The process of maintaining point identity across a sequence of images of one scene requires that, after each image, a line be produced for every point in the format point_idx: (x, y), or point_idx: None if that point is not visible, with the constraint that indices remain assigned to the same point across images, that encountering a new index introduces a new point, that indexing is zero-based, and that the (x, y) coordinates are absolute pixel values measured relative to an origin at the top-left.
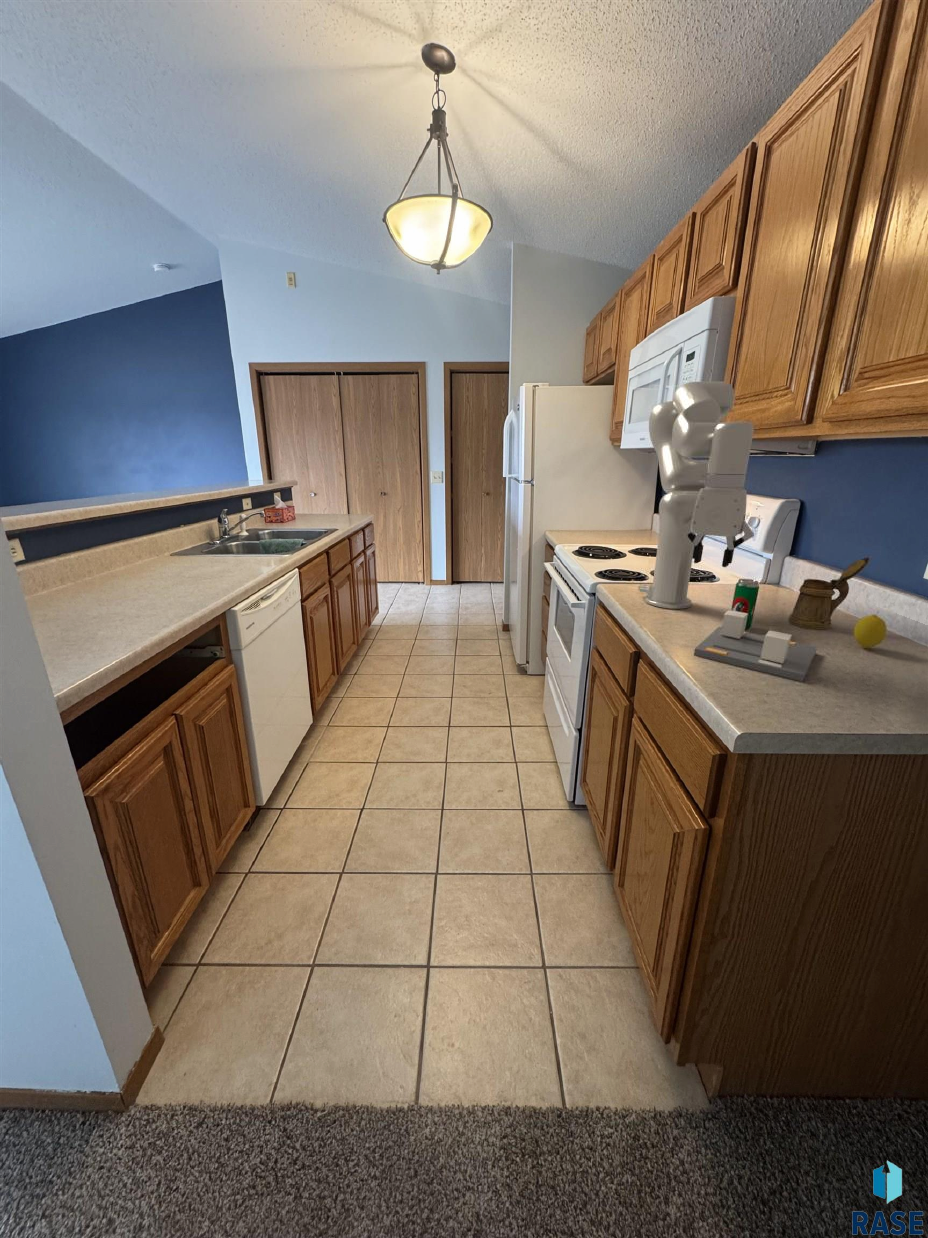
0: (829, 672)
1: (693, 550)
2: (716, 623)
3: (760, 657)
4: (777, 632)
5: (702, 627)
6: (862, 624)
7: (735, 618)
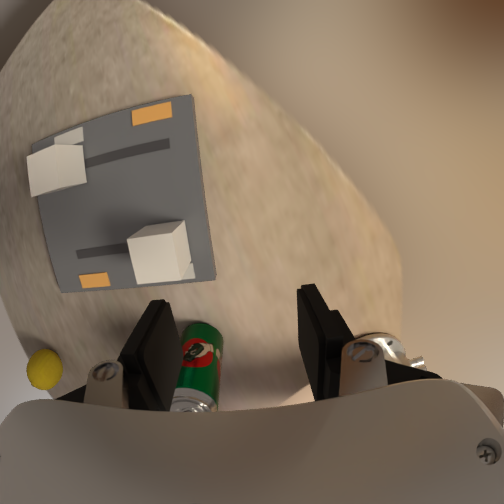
0: (31, 218)
1: (350, 332)
2: (244, 328)
3: (86, 157)
4: (47, 187)
5: (255, 283)
6: (40, 367)
7: (145, 234)
